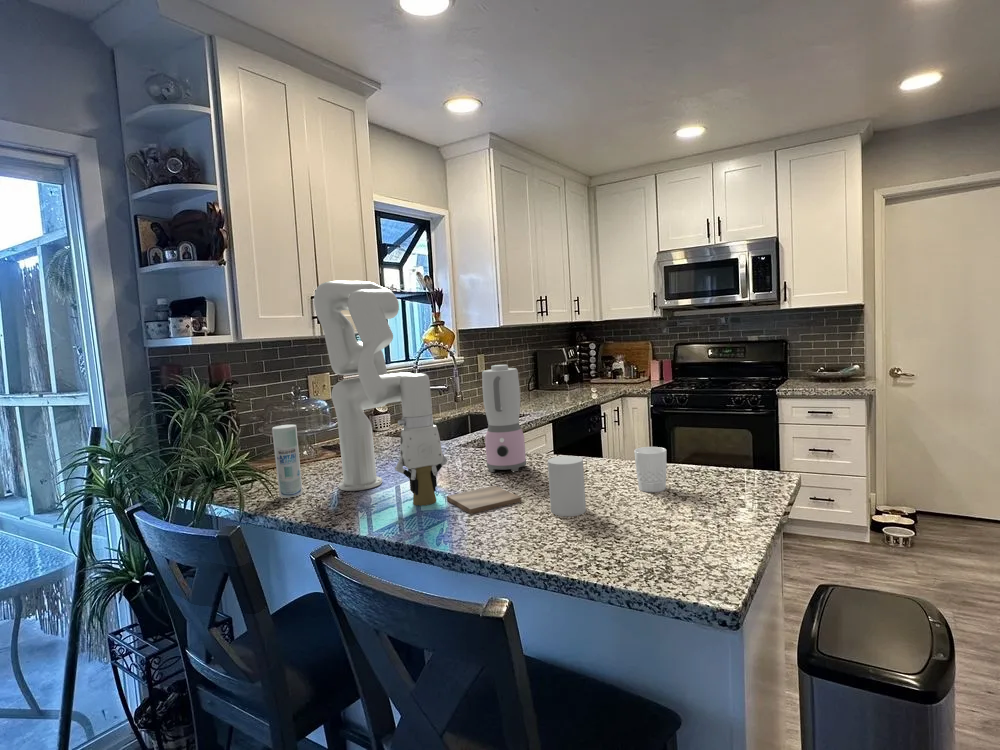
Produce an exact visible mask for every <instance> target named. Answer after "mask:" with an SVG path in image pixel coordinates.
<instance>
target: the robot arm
mask: <svg viewBox="0 0 1000 750" xmlns="http://www.w3.org/2000/svg"><path fill="white" fill-rule="evenodd" d="M313 306H314V310H315V314H316V317H317V319H318V321H319V324H320V325H321V329H322V331H323V334H324V339H325V344H326V349H327V354H328V358H329V362H330V366H331V369H332V371H333V372H334V374H336V375H338V376H348V375H349V376H351V375H358V377H356V378H355V377H354V378H348V379H344V380H341V381H338V382H336V384H334V386H333V387H332V390H331V401H332V403H333V407H334V411H335V416H336V422H337V428H338V437H339V448H340V456H341V457H340V458H341V469H342V478H343V480H342V481H340V482H339V483H338V485H337V486H338V489H339V490H341V491H346V492H358V491H364V490H369V489H373V488H376V487H378V486H380V485H382V483H383V478H382V477H381V476H377V468H376V467H377V466H376V459H375V458H376V456H375V446H374V436H373V425H372V423H371V420H370V419H369V418H368V416H367V415H366V414H365V412H364V411H366V410H369V409H376V408H381V407H383V406H386V405H388V404H392V403H397V402H398V403H399V402H401V412H402V416H401V419H399V420H397V425H398V427H399V426H402V427H403V428H401V430H400V431H401V432H400V440H399V442H400V443H399V456H400V457H399V459H398V462H397V464H396V466H395V467H394V470H395V471H396V472H398V473H400V474H403V475H404V476H406V477H407V479H409V488H410V489H409V490H410V492H412V494H414V492H415V495H418V480H417V479H416V468H421V467H425V466H432V470H431V472H430V473H431V479H432V484H433V489H434V492H436V491H437V488H436V487H438V484H437V483H438V482H437V475H438V473H439V472H440V470H441V469H442V467H443V466H444V465H445V464H446V463H447V462H448V458H447V457H446V456H445V455H444V454H443V449H442V443H441V439H440V433H439V430H438V427H437V425H436V424H434V421H433V419H434V417H433V407H432V405H433V404H432V396H431V382H430V378H429V377H430V376H429V375H428V374H427V373H413V372H408V371H406V372H405V371H404V372H396V373H395V372H394V373H388V370H387V365H386V360H385V356H384V352H383V350H384V349H385V348H386V347H388V346H389V345H390V344H391V343H392V342H393V340H394V334H393V331H392V330H391V327H390V325H389V322H388V320H391V319H394V318H395V317H396V316H397V315H398V313H399V310H400V304H399V299H398V297H397V296H396V294H395V293H394V292H393V291H392V290H390V289H388V288H386V287H383V286H381V285H378V284H376V283H375V282H371V281H366V280H365V281H363V280H331V281H326V282H325V281H324V282H323V283H321V284H319V285H318V286H317V287H316V289H315V292H314V296H313ZM342 311H348V312H349V315H350V317H351V320H352V322H351V321H350V320H349V319H348V318H347V316H346V315H345V314H343V313H342ZM352 323H353V324H354V327H355V328H354V327H353V324H352ZM355 329H356V331H357V334H358V337H359V338H360V341H358V340H357V338H356V333H355ZM404 467H405V468H407V469H405V468H404Z"/></svg>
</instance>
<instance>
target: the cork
mask: <svg viewBox="0 0 1000 750" xmlns="http://www.w3.org/2000/svg"><path fill="white" fill-rule="evenodd" d="M431 470H432V466H425V467H421V468H416V479H417V480H418V495H415V492H414V494H413V493H412V494H413V495H412V497H413V499H412V504H413V505H414V506H418V505H419V506H422V505H424V506H430V505H432V504H433V505H434V504H435V503H437V497H436V491H434V489H433V484H432V479H431V473H430V472H431Z"/></svg>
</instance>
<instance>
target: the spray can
mask: <svg viewBox="0 0 1000 750" xmlns="http://www.w3.org/2000/svg"><path fill="white" fill-rule="evenodd" d="M297 430H298V429H297V424H282V425H275V426H273V427H272V428H271V434H272V441H273V442H272V443H273V451H274V458H275V467H276V468H275V469H276V476H277V485H278V486H277V487H278V494H279V498H280V497H282V498H281V499H283V498H288V499H291V498H290V497H295V498H297V497H296V496H298V497H300V496H299V495H301V494H302V495H303V493H304V492H303V484H302V471H301V462H300V450H299V440H298V431H297ZM302 495H301V496H302Z"/></svg>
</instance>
